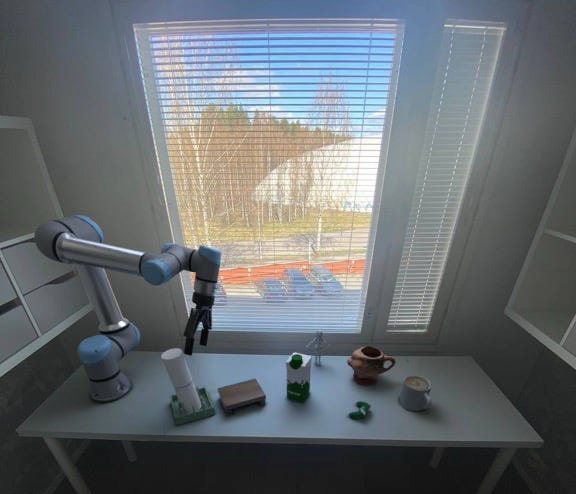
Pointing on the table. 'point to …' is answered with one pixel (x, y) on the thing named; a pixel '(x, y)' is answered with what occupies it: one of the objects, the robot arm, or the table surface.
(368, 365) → the clay jug
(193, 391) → the cylindrical container
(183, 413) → the drying rack
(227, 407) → the brown slab
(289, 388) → the milk carton
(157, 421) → the table surface
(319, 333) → the human figurine
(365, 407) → the green curved piece
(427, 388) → the coffee mug
